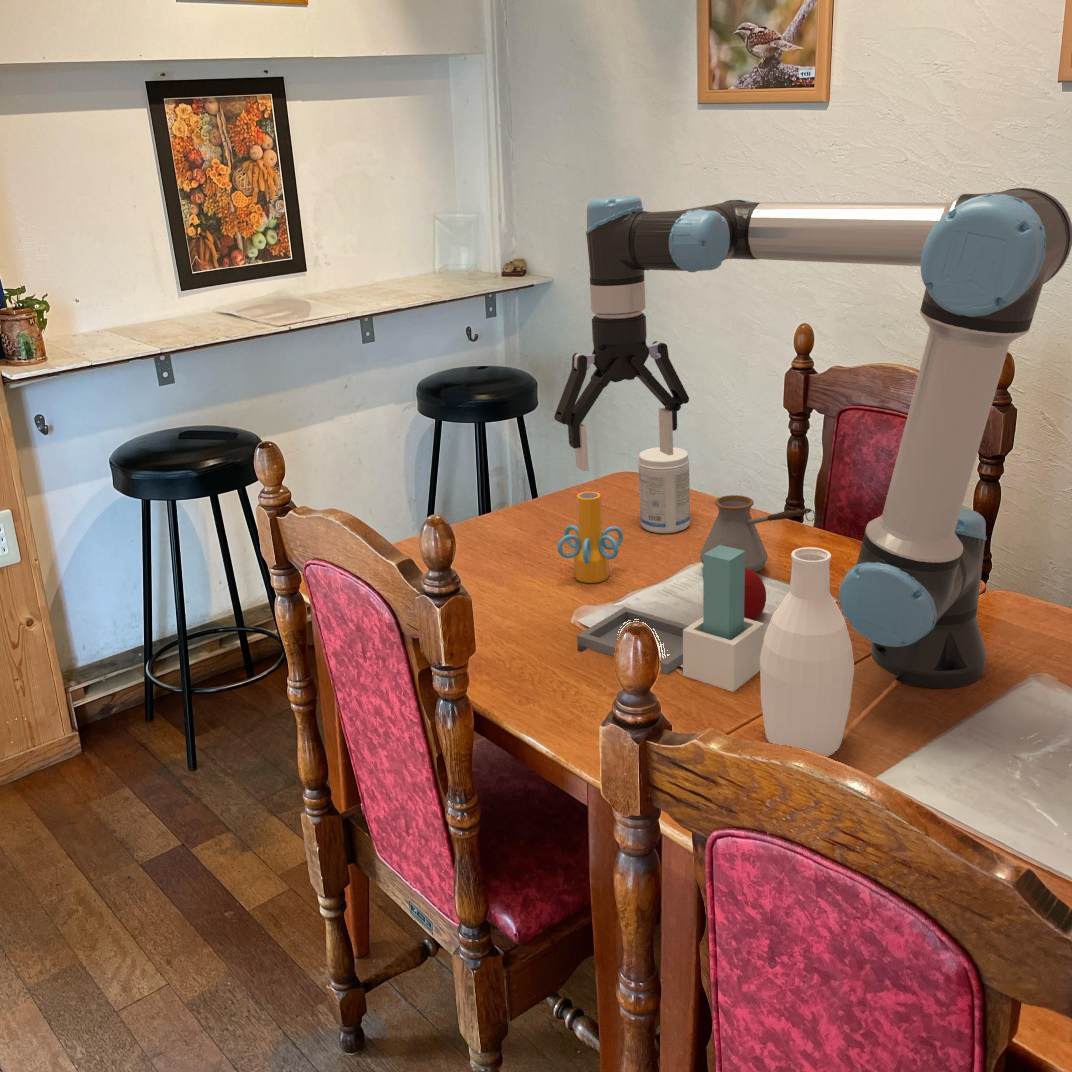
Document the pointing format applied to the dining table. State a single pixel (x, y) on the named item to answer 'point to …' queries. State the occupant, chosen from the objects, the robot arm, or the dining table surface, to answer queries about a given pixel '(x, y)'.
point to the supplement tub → (664, 490)
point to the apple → (753, 595)
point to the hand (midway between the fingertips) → (625, 461)
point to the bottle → (807, 661)
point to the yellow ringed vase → (590, 541)
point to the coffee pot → (742, 529)
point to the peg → (723, 592)
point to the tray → (668, 631)
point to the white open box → (722, 655)
